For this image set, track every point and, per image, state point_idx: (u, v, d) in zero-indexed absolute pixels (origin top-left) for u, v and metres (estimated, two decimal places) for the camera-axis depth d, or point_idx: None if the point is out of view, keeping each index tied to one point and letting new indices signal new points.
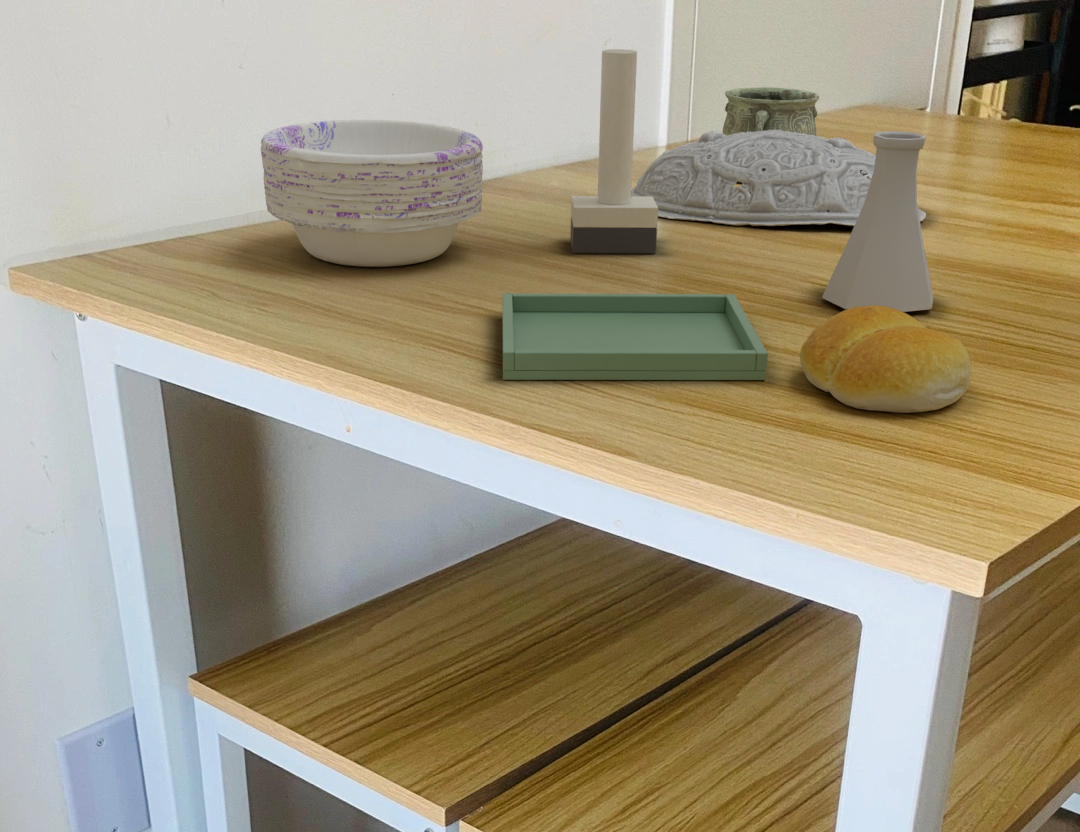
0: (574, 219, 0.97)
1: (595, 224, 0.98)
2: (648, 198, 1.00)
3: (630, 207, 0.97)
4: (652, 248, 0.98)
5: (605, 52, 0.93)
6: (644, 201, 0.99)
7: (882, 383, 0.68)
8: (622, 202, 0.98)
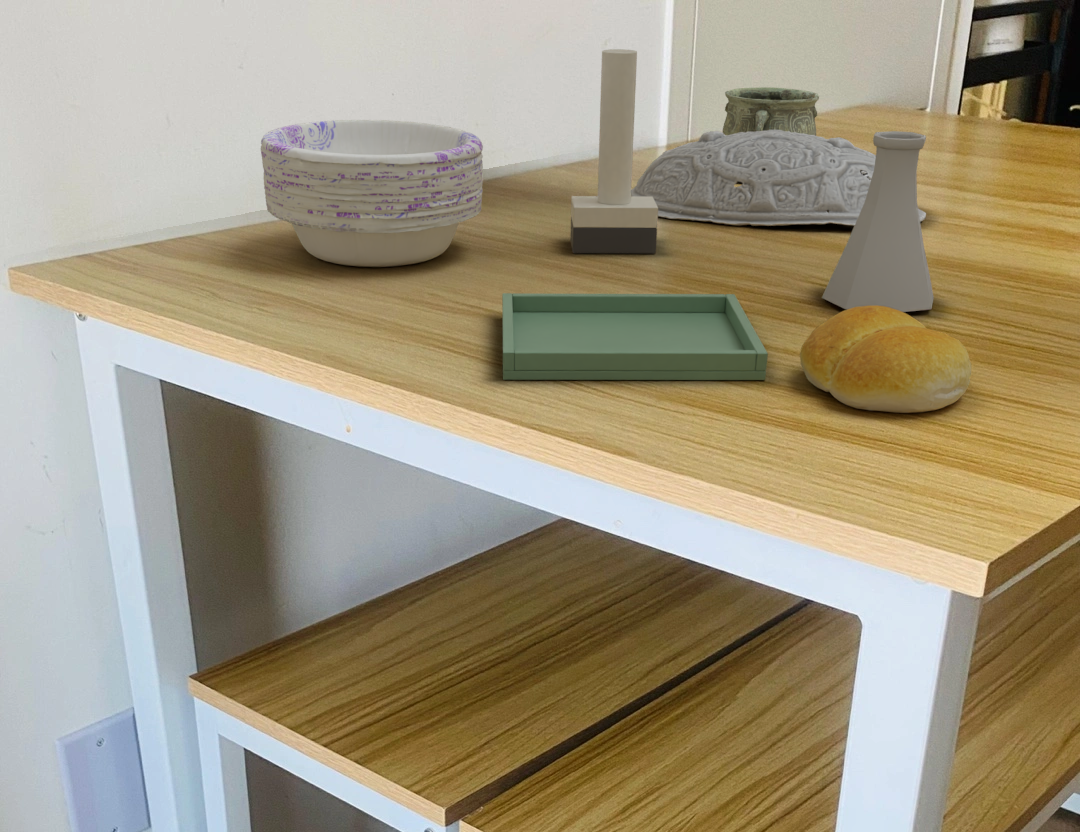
0: (574, 219, 0.97)
1: (595, 224, 0.98)
2: (648, 198, 1.00)
3: (630, 207, 0.97)
4: (652, 248, 0.98)
5: (605, 52, 0.93)
6: (644, 201, 0.99)
7: (882, 383, 0.68)
8: (622, 202, 0.98)
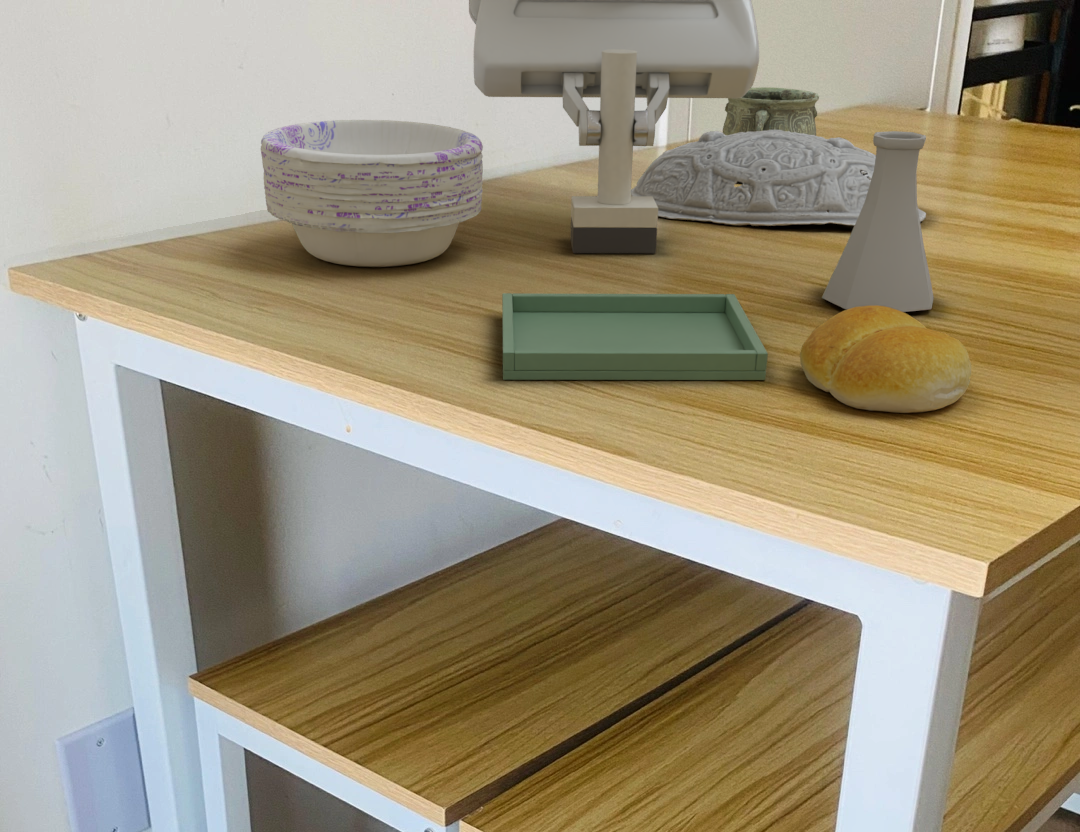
0: (574, 219, 0.97)
1: (595, 224, 0.98)
2: (648, 198, 1.00)
3: (630, 207, 0.97)
4: (652, 248, 0.98)
5: (605, 52, 0.93)
6: (644, 201, 0.99)
7: (882, 383, 0.68)
8: (622, 202, 0.98)
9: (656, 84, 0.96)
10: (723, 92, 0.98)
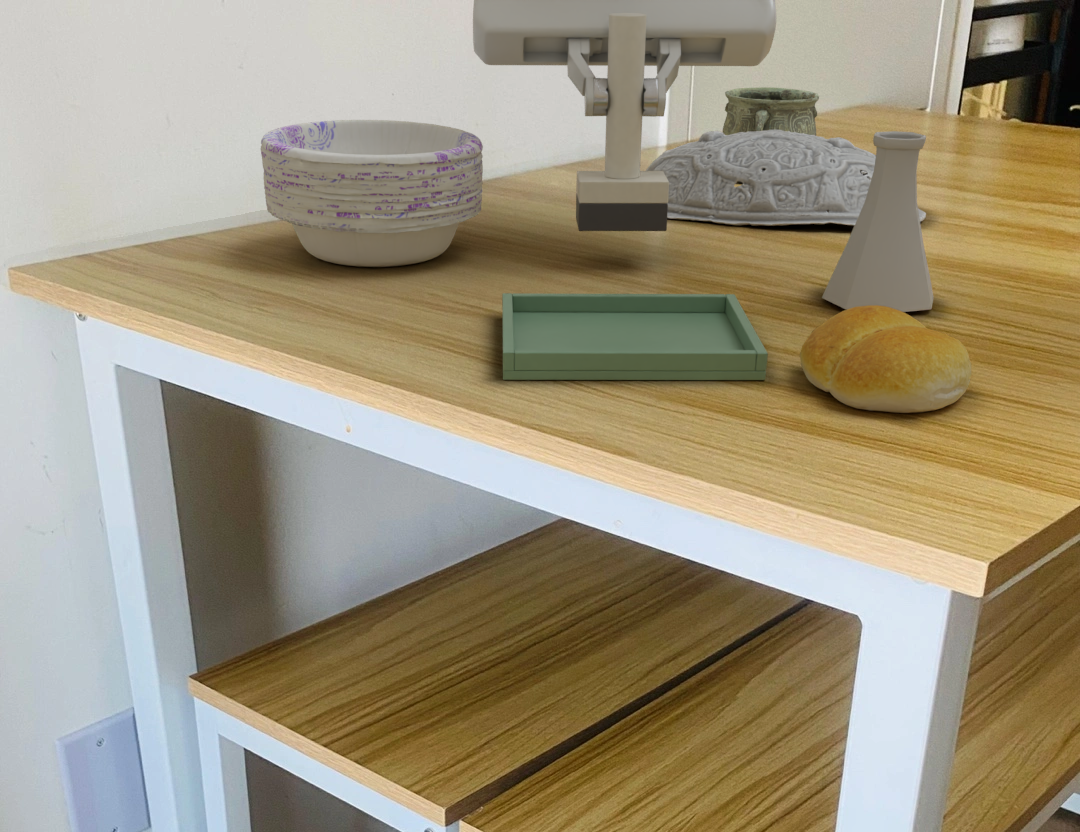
0: (580, 194, 0.92)
1: (602, 200, 0.92)
2: (658, 172, 0.94)
3: (639, 181, 0.91)
4: (663, 225, 0.93)
5: (612, 15, 0.87)
6: (654, 175, 0.93)
7: (882, 383, 0.68)
8: (631, 176, 0.92)
9: (667, 50, 0.90)
10: (737, 59, 0.92)
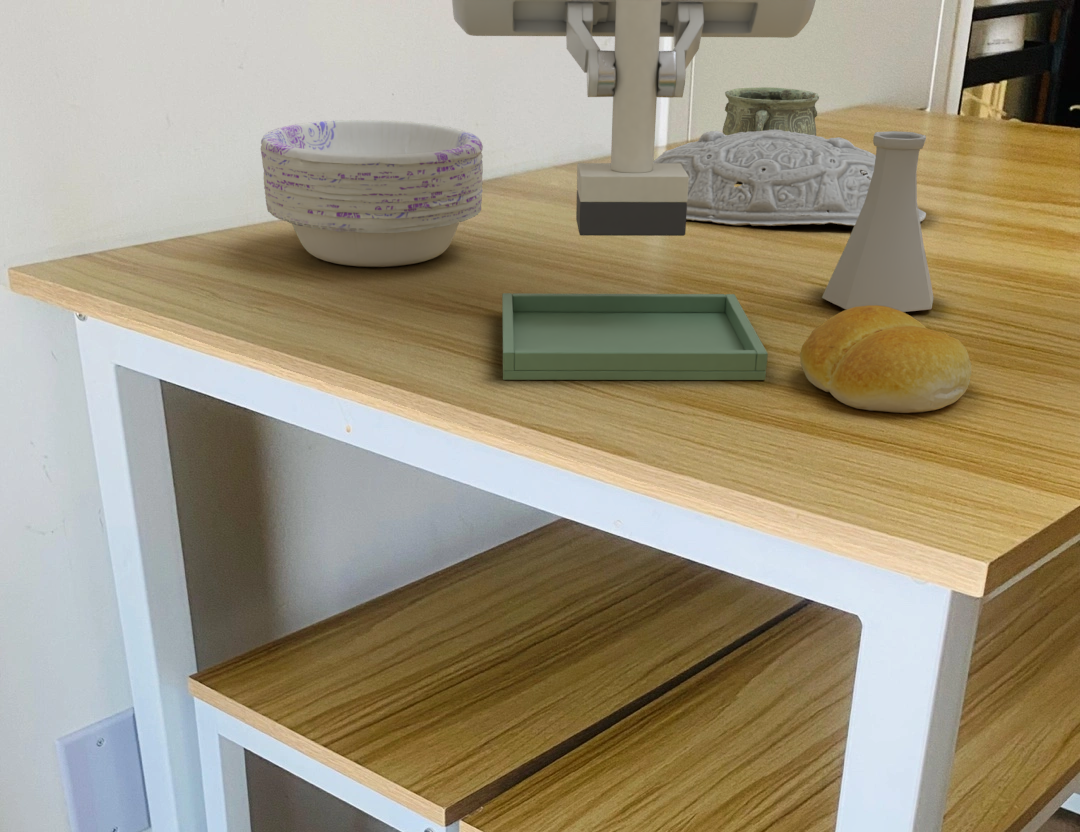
0: (581, 191, 0.76)
1: (608, 198, 0.76)
2: (675, 165, 0.78)
3: (653, 176, 0.76)
4: (681, 228, 0.77)
5: None
6: (670, 169, 0.77)
7: (882, 383, 0.68)
8: (642, 170, 0.76)
9: (687, 17, 0.75)
10: (771, 28, 0.77)
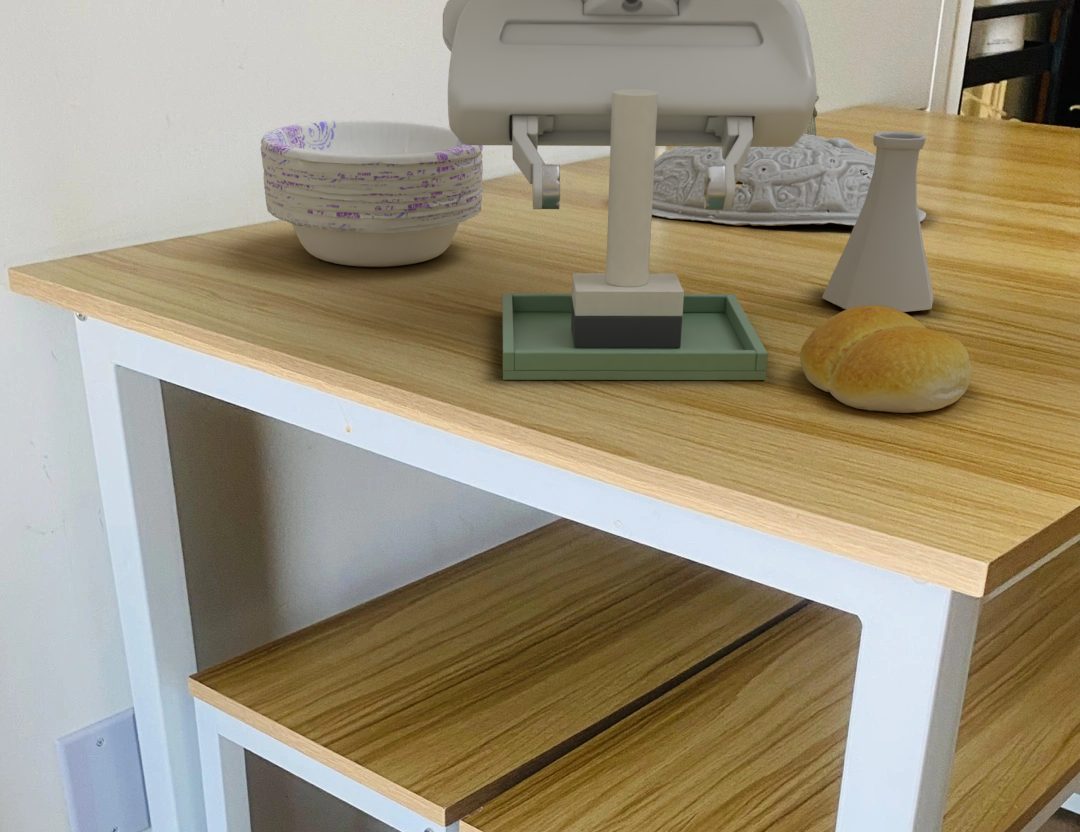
0: (576, 306, 0.76)
1: (603, 312, 0.76)
2: (670, 276, 0.78)
3: (648, 291, 0.76)
4: (676, 341, 0.77)
5: (616, 94, 0.72)
6: (665, 281, 0.77)
7: (882, 383, 0.68)
8: (638, 283, 0.76)
9: (736, 131, 0.74)
10: (768, 139, 0.76)
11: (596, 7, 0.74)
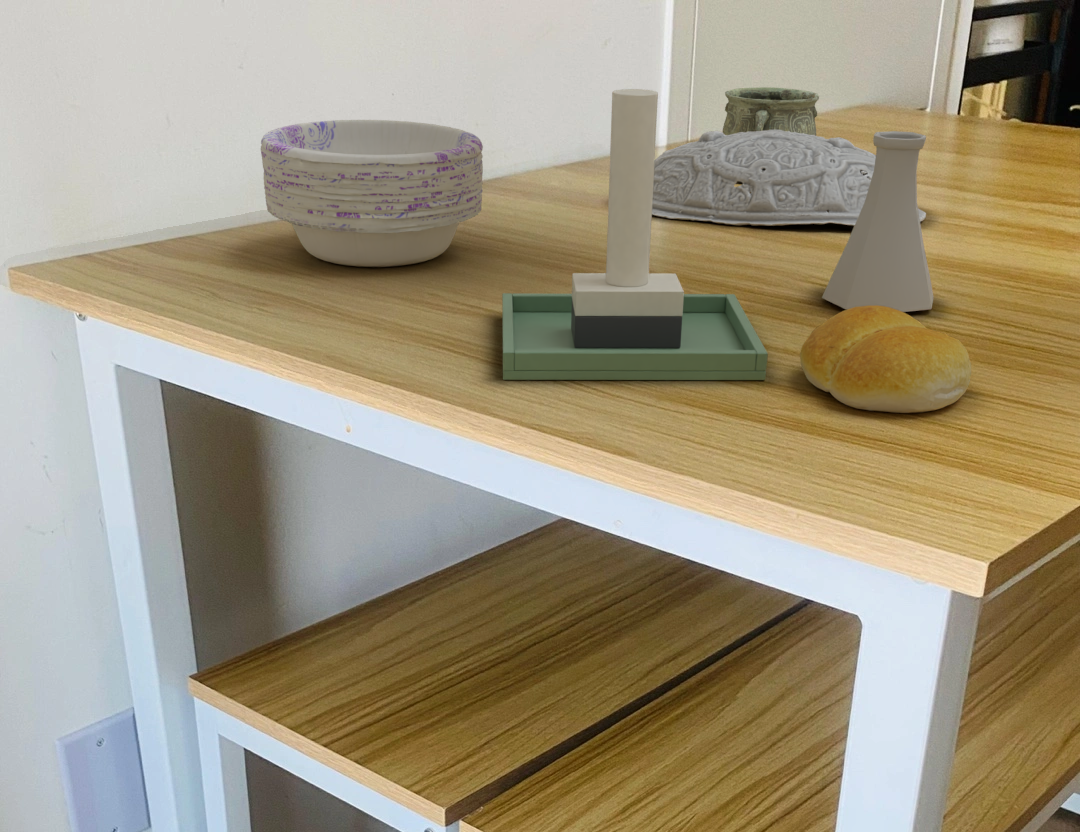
0: (576, 306, 0.76)
1: (603, 312, 0.76)
2: (670, 276, 0.78)
3: (648, 291, 0.76)
4: (676, 341, 0.77)
5: (616, 94, 0.72)
6: (665, 281, 0.77)
7: (882, 383, 0.68)
8: (638, 283, 0.76)
9: None
10: None
11: None
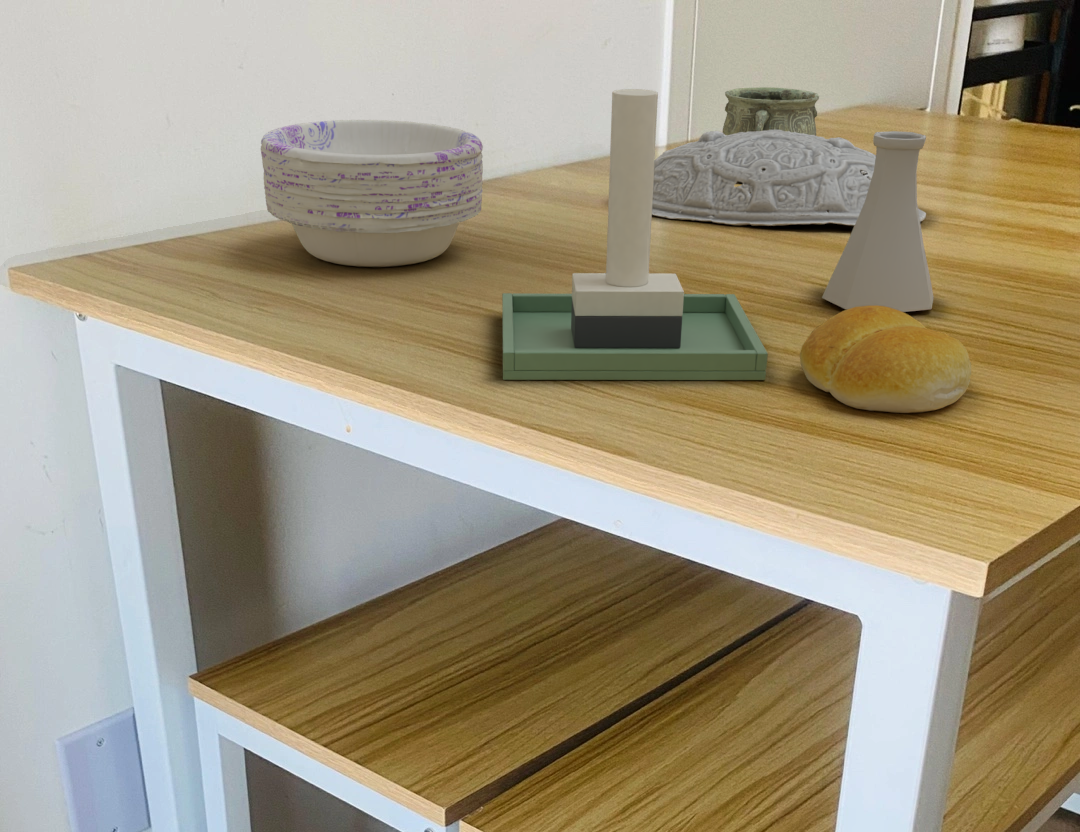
0: (576, 306, 0.76)
1: (603, 312, 0.76)
2: (670, 276, 0.78)
3: (648, 291, 0.76)
4: (676, 341, 0.77)
5: (616, 94, 0.72)
6: (665, 281, 0.77)
7: (882, 383, 0.68)
8: (638, 283, 0.76)
9: None
10: None
11: None
